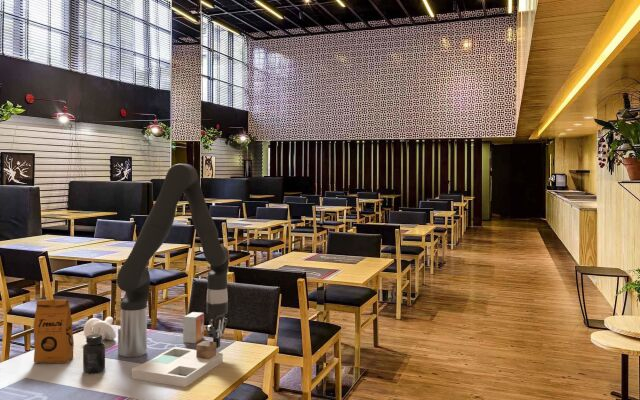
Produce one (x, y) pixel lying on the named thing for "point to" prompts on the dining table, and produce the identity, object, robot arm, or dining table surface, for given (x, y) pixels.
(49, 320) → the coffee package
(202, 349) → the walnut block
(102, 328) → the white lumpy figure
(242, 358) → the dining table surface
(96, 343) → the supplement bottle
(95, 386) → the dining table surface
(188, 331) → the small box
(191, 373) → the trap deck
